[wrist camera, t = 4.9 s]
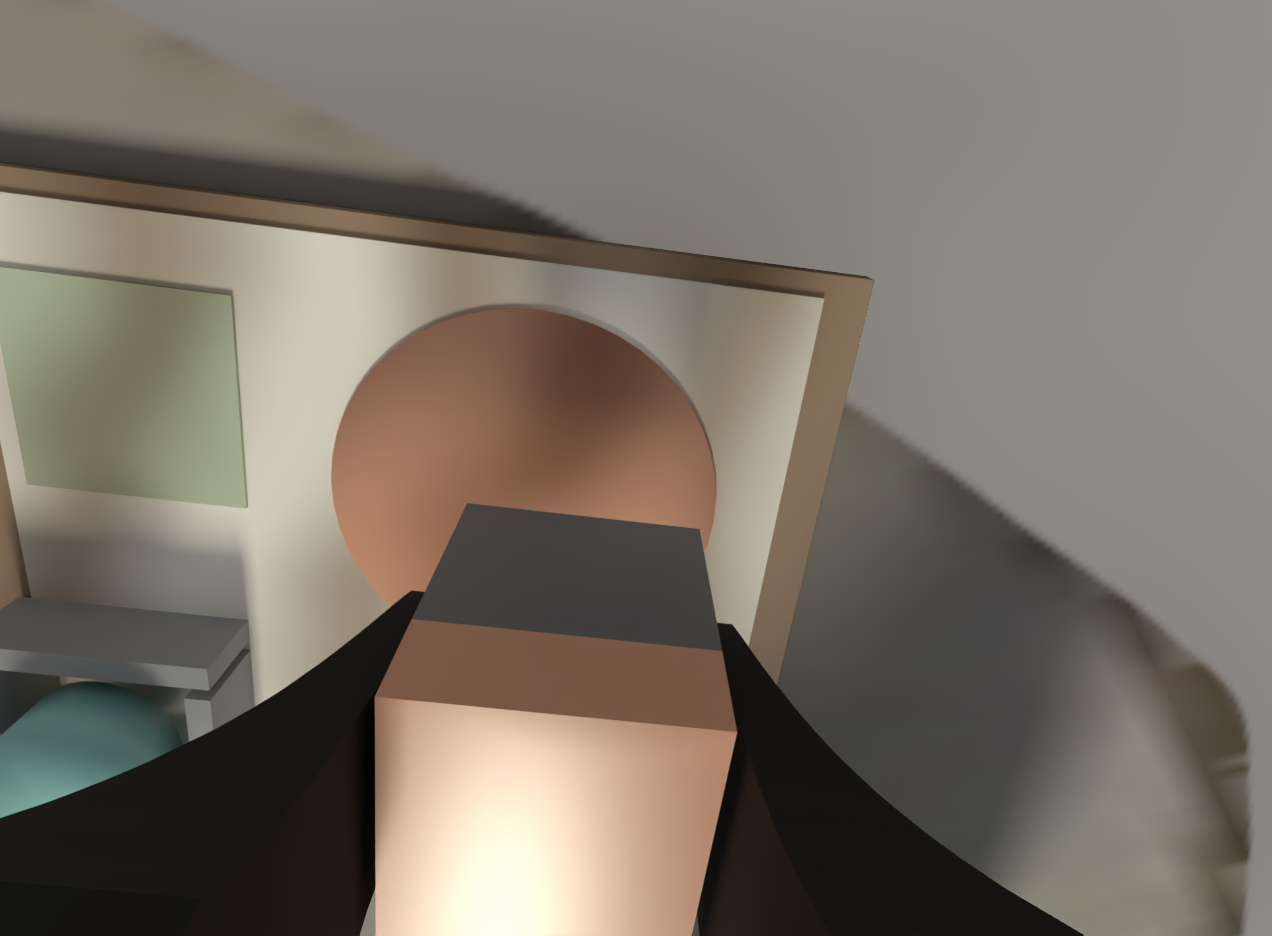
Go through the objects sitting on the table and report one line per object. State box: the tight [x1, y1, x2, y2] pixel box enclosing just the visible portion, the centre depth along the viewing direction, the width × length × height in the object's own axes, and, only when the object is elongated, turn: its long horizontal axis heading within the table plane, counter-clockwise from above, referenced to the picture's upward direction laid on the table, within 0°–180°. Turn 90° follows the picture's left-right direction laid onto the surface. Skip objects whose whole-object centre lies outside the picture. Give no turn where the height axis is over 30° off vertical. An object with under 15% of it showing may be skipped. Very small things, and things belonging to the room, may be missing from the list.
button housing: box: [0, 597, 255, 742], centre depth 19 cm, size 6×6×2 cm
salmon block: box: [375, 503, 737, 936], centre depth 11 cm, size 4×4×5 cm
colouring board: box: [0, 163, 874, 745], centre depth 19 cm, size 20×16×1 cm
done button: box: [0, 681, 183, 818], centre depth 18 cm, size 4×4×2 cm
